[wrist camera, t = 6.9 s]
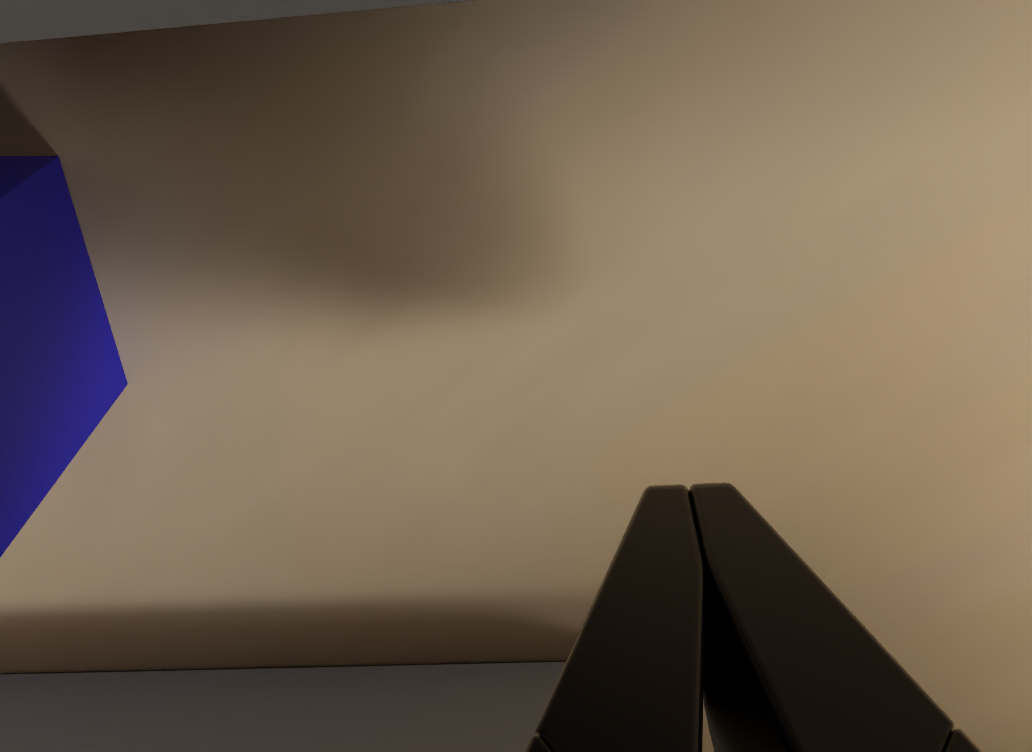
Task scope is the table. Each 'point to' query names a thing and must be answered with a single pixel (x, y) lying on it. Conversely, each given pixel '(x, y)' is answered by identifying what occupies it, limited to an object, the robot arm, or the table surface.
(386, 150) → the table surface
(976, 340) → the table surface
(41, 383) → the cable clip
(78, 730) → the guide rails
